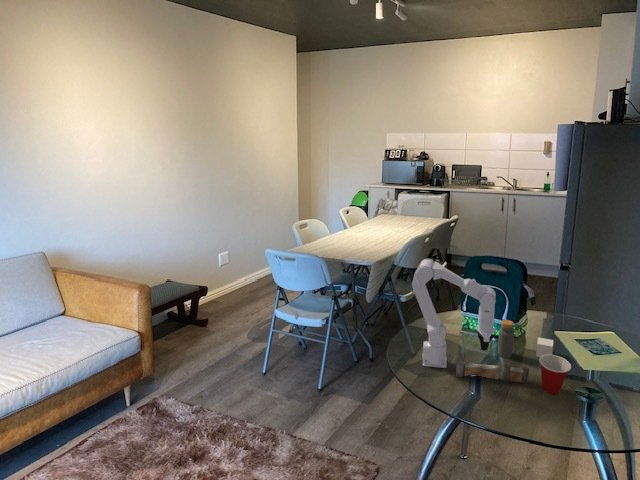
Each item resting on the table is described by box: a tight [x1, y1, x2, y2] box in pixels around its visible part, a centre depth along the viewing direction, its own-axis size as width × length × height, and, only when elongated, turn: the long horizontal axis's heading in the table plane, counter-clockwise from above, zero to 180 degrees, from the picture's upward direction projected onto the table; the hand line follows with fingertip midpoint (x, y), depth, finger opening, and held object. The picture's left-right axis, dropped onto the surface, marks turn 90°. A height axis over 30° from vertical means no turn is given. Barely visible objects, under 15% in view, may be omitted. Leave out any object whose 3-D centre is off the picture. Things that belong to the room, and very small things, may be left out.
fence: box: [502, 364, 530, 385], centre depth 190 cm, size 9×2×6 cm, turn 76°
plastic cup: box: [538, 354, 572, 395], centre depth 182 cm, size 11×11×12 cm
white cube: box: [535, 337, 554, 358], centre depth 208 cm, size 6×6×6 cm
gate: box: [463, 362, 500, 380], centre depth 193 cm, size 13×2×5 cm, turn 76°
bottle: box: [497, 319, 515, 359], centre depth 207 cm, size 6×6×15 cm
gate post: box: [455, 359, 465, 378], centre depth 195 cm, size 3×3×6 cm
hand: (483, 349), depth 196 cm, fingers closed
